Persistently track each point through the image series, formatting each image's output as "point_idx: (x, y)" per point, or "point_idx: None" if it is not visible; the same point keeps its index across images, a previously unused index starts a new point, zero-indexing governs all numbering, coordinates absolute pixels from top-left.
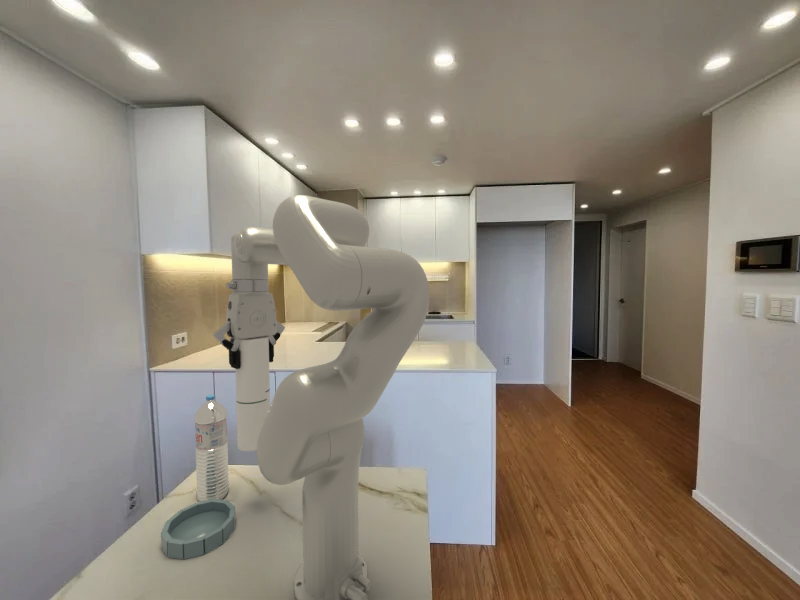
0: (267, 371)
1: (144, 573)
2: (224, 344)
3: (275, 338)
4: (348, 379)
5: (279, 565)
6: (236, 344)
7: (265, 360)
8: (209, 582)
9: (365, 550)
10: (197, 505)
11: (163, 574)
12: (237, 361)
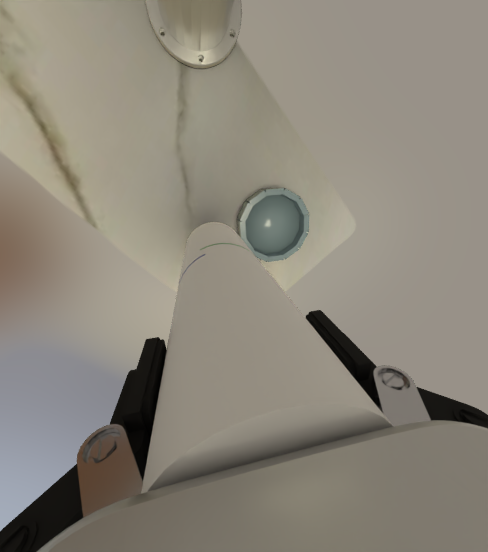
0: (193, 288)
1: (320, 205)
2: (469, 406)
3: (63, 500)
4: None
5: (230, 100)
6: (403, 402)
7: (205, 307)
8: (289, 143)
9: (129, 10)
10: (268, 256)
11: (311, 190)
12: (335, 326)
